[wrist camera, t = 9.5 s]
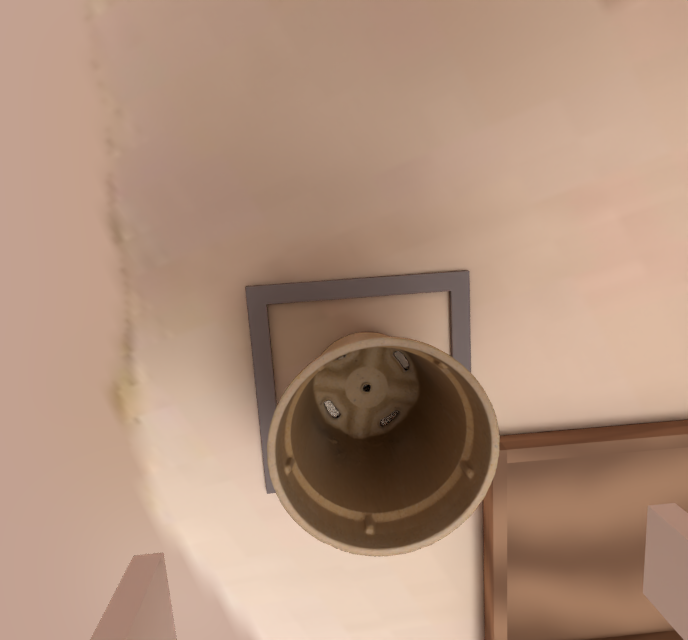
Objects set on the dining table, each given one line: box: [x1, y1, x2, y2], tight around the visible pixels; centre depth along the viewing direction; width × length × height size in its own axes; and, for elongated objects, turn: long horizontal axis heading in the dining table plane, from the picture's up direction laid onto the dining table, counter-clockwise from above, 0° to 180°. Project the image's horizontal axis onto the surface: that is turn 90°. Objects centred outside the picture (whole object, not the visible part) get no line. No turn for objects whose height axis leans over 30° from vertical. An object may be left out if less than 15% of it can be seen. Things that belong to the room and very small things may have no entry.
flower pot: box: [267, 332, 500, 556], centre depth 25 cm, size 9×9×9 cm
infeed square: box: [245, 271, 471, 494], centre depth 29 cm, size 12×12×1 cm
